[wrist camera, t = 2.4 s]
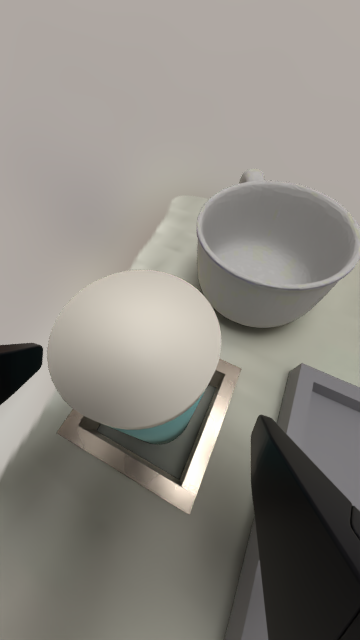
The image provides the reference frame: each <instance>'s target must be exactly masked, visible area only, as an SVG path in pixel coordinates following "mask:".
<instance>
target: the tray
mask: <svg viewBox="0 0 360 640" xmlns="http://www.w3.org/2000/svg"><path fill="white" fill-rule="evenodd" d="M277 425H278V426H279V427H280V428H281V429H282V430H283V431H284V432H285V433H286V434H287V435H288V436H289V437H290V438H291V439H292V440H293V441H294V442H295V444H296V445H297V446H298V447H299V448H300V449H301V450H302V451H303V452H304V453H305V454H306V455H307V456H308V457H309V458H310V459H311V460H312V461H313V463H314V464H315V465H316V466H317V467H318V468H319V469H320V470H321V471H322V472H323V473H324V474H325V475H326V476H327V477H328V478H329V479H330V480H331V482H332V483H333V484H334V485H335V486H336V487H337V488H338V489H339V490H340V491H341V492H342V493H343V494H344V495H345V496H346V497H347V498H348V499H349V501H350V502H351V503H352V506H355V507H356V508H357V509H358V510H359V511H360V388H359V387H357V386H355V385H352V384H350V383H348V382H345V381H343V380H341V379H338V378H336V377H333V376H331V375H329V374H326V373H324V372H322V371H319V370H317V369H315V368H312V367H310V366H308V365H305V364H303V363H301V364H300V365H298V366H297V367H296V368H294V369H293V370H291V371H290V372H289V376H288V380H287V384H286V389H285V393H284V397H283V401H282V405H281V409H280V413H279V417H278V421H277ZM225 640H268V633H267V624H266V615H265V606H264V597H263V587H262V578H261V569H260V560H259V551H258V542H257V533H256V524H255V516H254V520H253V524H252V528H251V533H250V537H249V541H248V545H247V549H246V553H245V557H244V561H243V565H242V570H241V574H240V578H239V582H238V586H237V590H236V594H235V598H234V603H233V607H232V611H231V615H230V619H229V623H228V627H227V631H226V635H225Z"/></svg>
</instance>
